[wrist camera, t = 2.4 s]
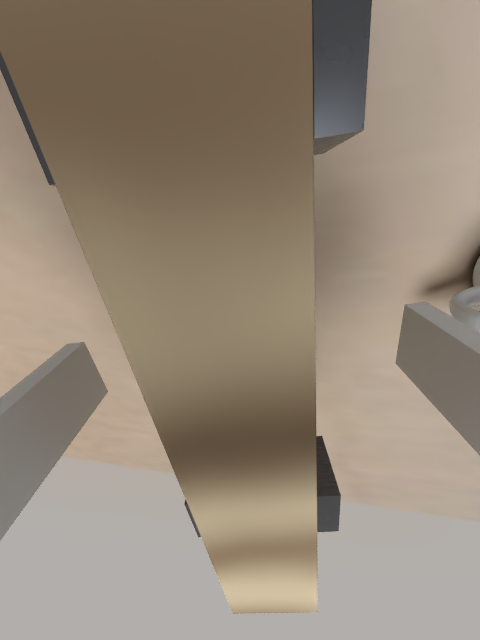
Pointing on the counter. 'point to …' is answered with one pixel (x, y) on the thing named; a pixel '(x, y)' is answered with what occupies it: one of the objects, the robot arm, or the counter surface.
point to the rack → (328, 131)
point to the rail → (198, 246)
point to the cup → (468, 302)
